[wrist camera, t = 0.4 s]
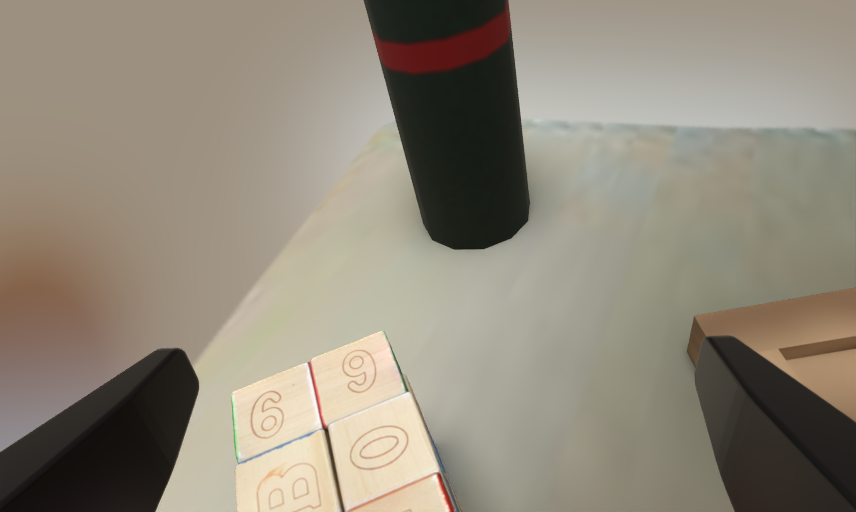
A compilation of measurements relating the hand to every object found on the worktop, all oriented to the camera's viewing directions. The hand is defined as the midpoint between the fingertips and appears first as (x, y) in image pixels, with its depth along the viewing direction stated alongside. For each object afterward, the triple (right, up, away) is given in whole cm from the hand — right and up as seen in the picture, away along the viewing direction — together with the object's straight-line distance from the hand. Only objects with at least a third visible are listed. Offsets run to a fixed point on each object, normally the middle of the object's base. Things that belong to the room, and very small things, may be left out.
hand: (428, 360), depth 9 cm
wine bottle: (+4, +6, +30) cm, 31 cm away
